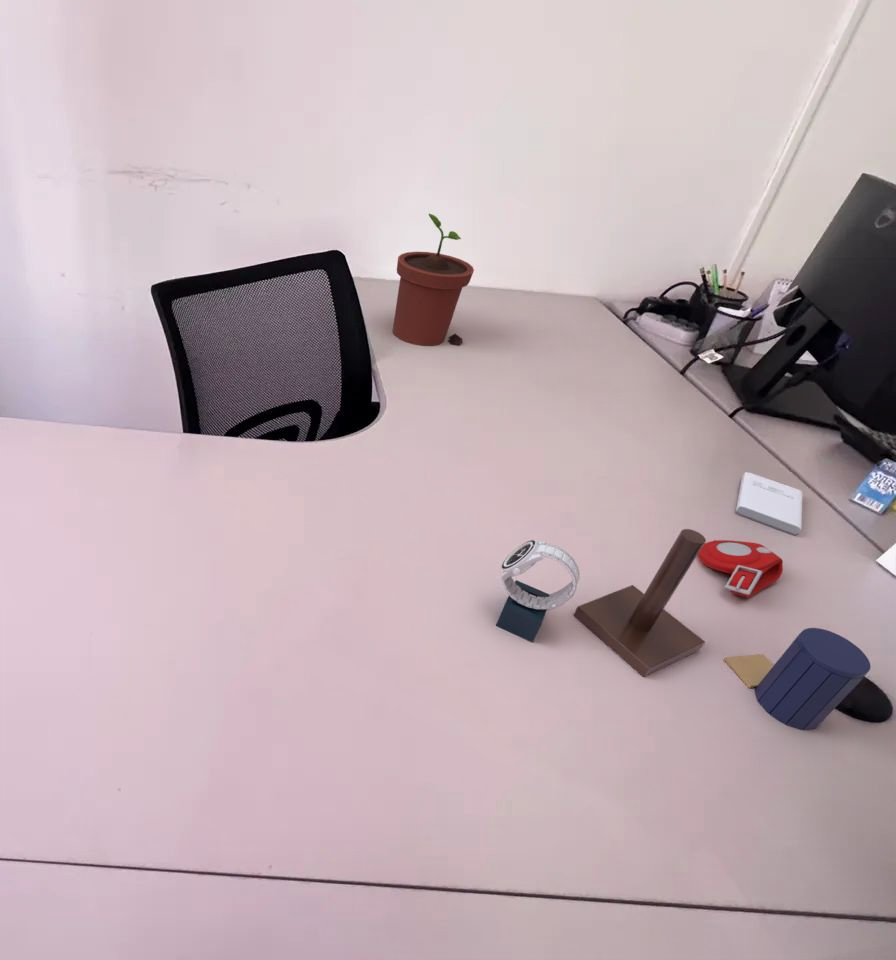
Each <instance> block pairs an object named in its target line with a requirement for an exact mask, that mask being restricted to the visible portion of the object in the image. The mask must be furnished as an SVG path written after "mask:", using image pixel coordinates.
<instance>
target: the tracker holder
mask: <svg viewBox="0 0 896 960" xmlns="http://www.w3.org/2000/svg"><path fill="white" fill-rule="evenodd" d="M697 557H698V559H699V561H700V562H701V563H702V564H704V565H705V566H707V567H709V568H710V569H713V570H716V571H717V572H718V571H719V572H722V573H727V574H731V576H730V577H729V579H728V580H727V582H726V584H725V585H724V589H725V590H729V592H730V593H731V594H733V595H737V596H738V597H739V596H740V597H743V598H747V599H748V598H751V597H753V596H754V595H756V594H758V593H759V592H761V591H763V590H764V589H766V588H768V587H769V586H771V585H773V584H774V583H776V582H777V581H778V580H780V578H781V576H782V574H783V569H784V567H783V564H784V561H783V559H782V558H781V557H780V556H779V555H777V554H775V552H773V551H772V550H771V549H769V548H768V547H766V546H764V545H762V544H761V543H757V542H751V541H741V540H726V539H725V540H724V539H721V540H720V539H719V540H711V541H707V542H705V544H704V545H703V547H702V548H701V550H700V552H699V553H698V555H697Z"/></svg>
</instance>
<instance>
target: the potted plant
mask: <svg viewBox="0 0 896 960" xmlns="http://www.w3.org/2000/svg"><path fill="white" fill-rule="evenodd" d="M428 217H429V218H430V219H431V221H432V222H433V225H434V226H435V227H436V228H437V229H438V230H439V233H440V235H441V236H440V240H439V245H438V248H437V252H430V251H407V252H404V253H401V254H399V255H398V256H397V263H396V273H397V275H398V276H399V284H398V292H397V297H396V303H395V304H396V305H395V311H394V318H393V324H392V335H394V336H395V337H396V338H397V339H399V340H401V341H403V342H406V343H409V344H412V345H416V346H423V347H424V346H425V347H433V346H439V345H441V344H443V343H444V342H445V340H446V337H447V336H448V335H447V334H448V331H449V329H450V325H451V322H452V320H453V317H454V314H455V311H456V308H457V305H458V303H459V299H460V295H461V293H462V290H463V288H465V287H467V286H468V285H469V284H470V282H471V279H472V277H473V274H474V272H475V269H474V267H473V266H472V264H470V263H469V262H467V261H465V260H463V259H460V258H457V257H454V256H451V255H447V254H443V253H441V251H442V245H443V241H444V239H450V240H456V241H457V240H458V241H459V240H461V239H462V238H461V237H460V235H459V234H458V233H457V232H455V231H453V230H450V231H449V232H448V235H444V234H445V233H444V231H443V229H442V222H441V220H439V218H438V217H437V216H436V215H435V214H431V213H428ZM447 341H448V342H449V343H450V345H455V346H461V345H463V344H464V342H463V341H464V340H463V338H462V337H461V336H459V335H458V334H457V333H454V334H452V335H450V336H449V337H448V340H447Z"/></svg>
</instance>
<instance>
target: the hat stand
mask: <svg viewBox="0 0 896 960" xmlns="http://www.w3.org/2000/svg"><path fill="white" fill-rule="evenodd" d="M706 541H707V540H706V537H705V536H704V535H703V534H702V533H700V532H698V531H696V530H694V529H690V528H683V529H682V530H681V531H680V532H679V534H678V535H677V538H676V539H675V541H674V543H673V544H672V546H671V548H670V549H669V551H668V553H667V554H666V556H665V558H664V560H663V561H662V563H661V564H660V566H659V568H658V570H657V572H656V573H655V574H654V576H653V578H652V580H651V582H650V583H649V585H648V586H647V588H646V590H645V592H643V591H641V590H640V589H639V588H637V587H636V586H635V585H633V584H632V585H629V586H627V587H624V588H621V589H619V590H616V591H614V592H611V593H608V594H606V595H604V596H600V597H598V598H596V599H594V600H590V601H588V602H585V603H583V604H580V605H578V606H577V607H576V609H575V611H574V612H573V616H574V617H575V618H576V619H577V620H579V621H580V622H581V623H582V624H583V625H584V626H585V627H586V628H588V629H589V630H590V631H591V632H592V633H593V634H594V635H596V636H597V637H598V638H599V639H600V640H601V641H602V642H603V643H604V644H605V645H606V646H608V648H610V649H611V648H612V649H611V650H612V651H614V653H616V654H617V655H618V654H619V655H618V656H619V657H620V658H621V659H623V661H625V662H626V663H627V664H628V665H629V666H630V667H631V668H633V669H634V670H635V671H636V672H637V673H638V674H639V675H641V677H643V678H644V677H647V676H648V675H651V674H653V673H655V672H657V671H660V670H661V669H663V668H665V667H667V666H670V665H672V664H674V663H676V662H678V661H680V660H682V659H684V658H686V657H688V656H690V655H692V654H695V653H696V652H699V651H700V650H701V648H702V647H703V646H704V645H705V643H706V641H705V640H703V638H701V637H700V636H698V635H697V634H696V633H695V632H693V631H692V629H690V628H689V627H687V626H686V625H684V624H683V623H682V622H681V621H680V620H678V619H677V618H675V617H674V616H673V615H672V614H670V613H669V612H668V611H666V609H665V608H666V606H667V605H668V603H669V601H670V600H671V599H672V597H673V595H674V593H676V592H675V591H676V590H677V589H678V587H679V585H680V583H682V580H683V579H684V577H685V576H686V574H687V573H688V571H689V569H690V568H691V566H692V565H693V563H694V562H695V559H697V557H698V553H699V552H700V550H701V548H702V547H703V545H704V544H705V543H707V542H706Z"/></svg>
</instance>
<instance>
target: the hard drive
mask: <svg viewBox="0 0 896 960" xmlns="http://www.w3.org/2000/svg"><path fill="white" fill-rule="evenodd" d="M735 514H737V515H739V516H742V517H744V518H746V519H749V520H752V521H755V522H757V523H760V524H763V525H766V526H768V527H771V528H773V529H776V530H779V531H782V532H784V533H787V534H790V535H792V536H798V535H799V533H800V532H801V530H802V524H803V523H802V522H803V491H802V490H801V489H798V488H795V487H792V486H790V485H786V484H783V483H781V482H777V481H775V480H772V479H770V478H769V479H768V478H766V477H763V476H761V475H758V474H755V473H752V472H748V471H745V472H744V473H743V474H742V476H741V480H740V486H739V490H738V496H737V502H736V508H735Z"/></svg>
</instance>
